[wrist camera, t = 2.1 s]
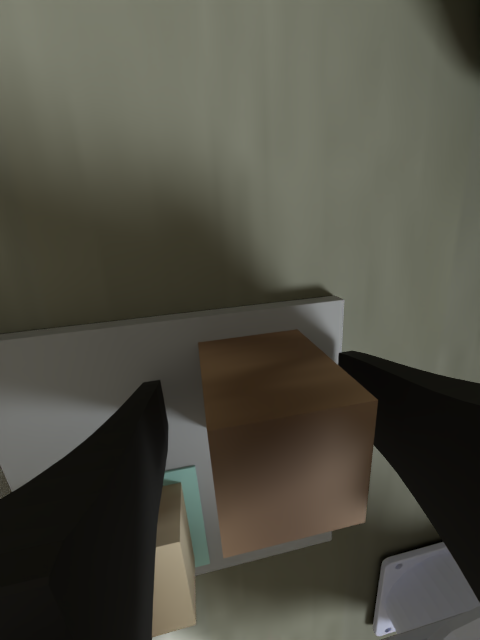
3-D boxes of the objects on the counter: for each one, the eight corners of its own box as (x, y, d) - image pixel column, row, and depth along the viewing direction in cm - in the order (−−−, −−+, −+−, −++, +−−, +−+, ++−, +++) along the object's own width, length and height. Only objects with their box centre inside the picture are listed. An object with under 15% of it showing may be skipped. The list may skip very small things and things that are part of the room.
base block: (181, 482, 12) (179, 541, 10) (194, 557, 14) (196, 624, 11) (59, 507, 11) (26, 578, 9) (88, 584, 13) (67, 661, 11)
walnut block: (297, 329, 11) (378, 399, 6) (297, 412, 12) (365, 522, 8) (198, 342, 10) (206, 431, 6) (208, 428, 12) (223, 558, 7)
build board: (334, 295, 12) (345, 300, 11) (324, 526, 16) (332, 542, 15) (-34, 338, 10) (-55, 348, 9) (70, 590, 14) (62, 612, 13)
